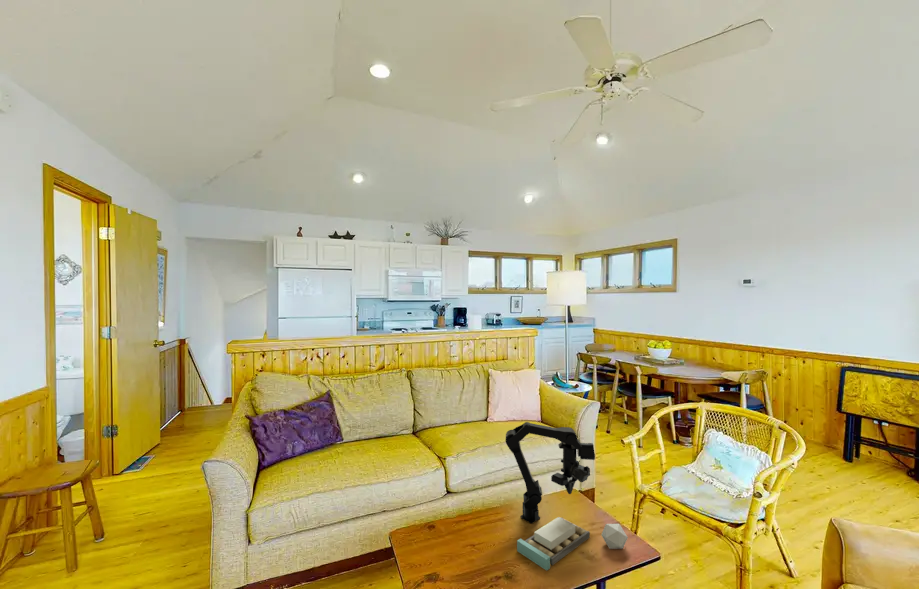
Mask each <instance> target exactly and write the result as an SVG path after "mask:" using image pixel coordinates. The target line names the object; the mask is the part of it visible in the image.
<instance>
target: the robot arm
mask: <svg viewBox="0 0 919 589" xmlns="http://www.w3.org/2000/svg"><path fill="white" fill-rule="evenodd" d="M528 435H536V436H540V437H546V438H550V439H554V440H557V441H559V443H558V445H557V446H558V449H562V459H560V463H562V468H561V469H560V472H562V473H560V472H556V473H554V474H552V475H551V477H550V480H551V483H552V482H553V483H555V484H556V485H559V486H562V487H563V486H564V488H565V489H566V491H567V493H568V495H571V494H572V493H573V490H574V486H575V484H576V482H579V483H584V482H585V481H587V480H588V478H589V476H591V469H590V468H591V467H589V466H588V465H586V466H584V465H582V464H580V462H579V460H578V459H577V457H579V458H580V460H590V461H592V460H593V461H595V459H596V453H595V447H594V446H595V445H594V444H593V442H580V439H579V438H578V436H577V433H576V431H575V430H574V429H573V428H572V427H568V426H567V427H565V426H561V427H552V426H546V425H542V424H536V423H531V422H528V421H526V422H524V423H522V424H520V425H518V426H516V427H515V428H512V429H508V431H506V433H505V444H506V446H507V447H508V449H509V450H510V452H511V453H512V454H513V457H514V459H515V461H516V463H517V467H518V468H519V471H520V473H521V476H522V479H523V481H524V483H525V484H524V485H525V487H526V491H525V492H524V493H523V495H522V496H523V502H522V514H521V515H520V518H521V519H523V521H526V522H528V523H530V524H533V523H535V522H536V521H538V520H540V519H541V516H540V515H539V511H540V510H539V504H540V503H541V502H542V498H543V497H542V496H543V490H542V489H543V488H542V486H541V485H540V483H539V480H538V479H537V480H535V478H534V477H533V475H532V473H531V470H530V468H529V465H528V463H527V460H526V457H525V456H524V453H523V450H522V446H521V441H523V439H525V438H526V437H527V436H528Z"/></svg>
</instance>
